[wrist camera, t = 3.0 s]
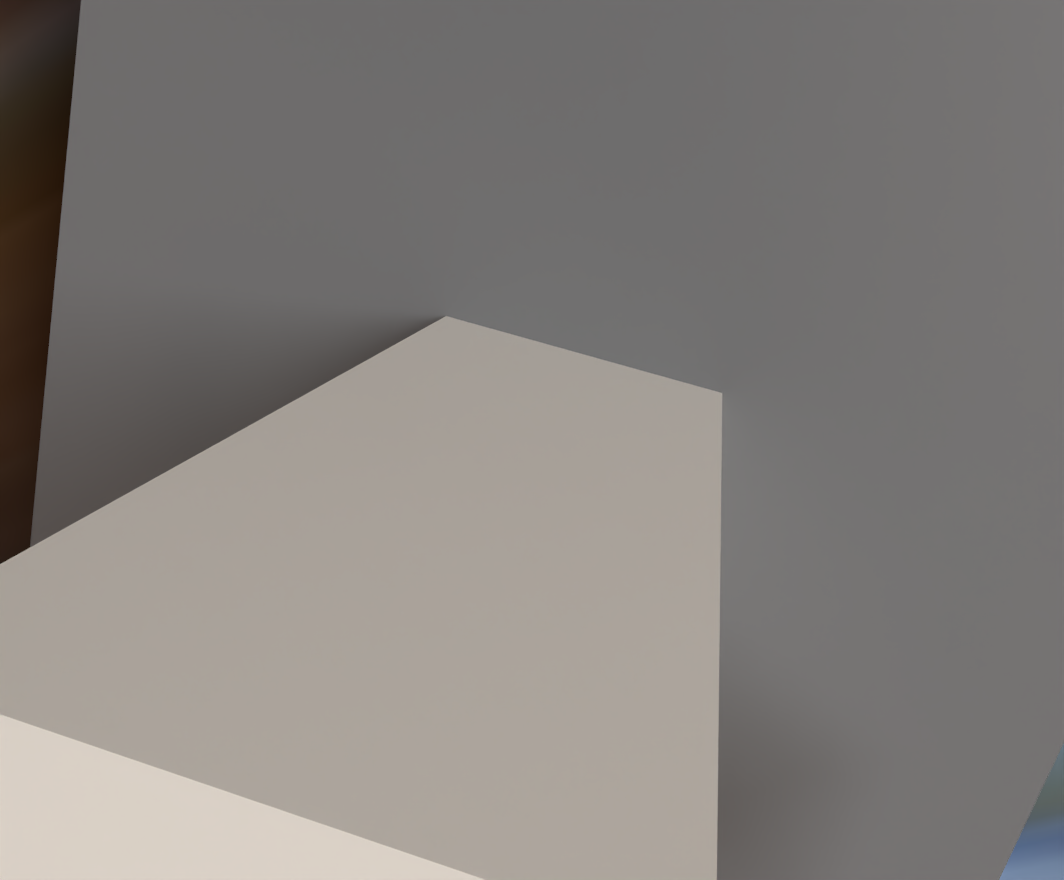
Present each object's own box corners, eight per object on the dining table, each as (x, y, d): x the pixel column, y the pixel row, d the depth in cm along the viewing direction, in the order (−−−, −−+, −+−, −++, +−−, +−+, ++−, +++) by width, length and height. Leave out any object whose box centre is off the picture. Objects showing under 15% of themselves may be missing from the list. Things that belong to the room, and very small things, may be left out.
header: (277, -281, 15) (120, -436, 11) (1269, -67, 13) (1489, -159, 9) (124, 826, 21) (-11, 976, 17) (792, 1059, 19) (808, 1280, 15)
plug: (508, 281, 16) (-167, 657, 4) (723, 340, 16) (715, 958, 4) (430, 611, 18) (-193, 1566, 6) (621, 671, 17) (386, 1826, 5)
